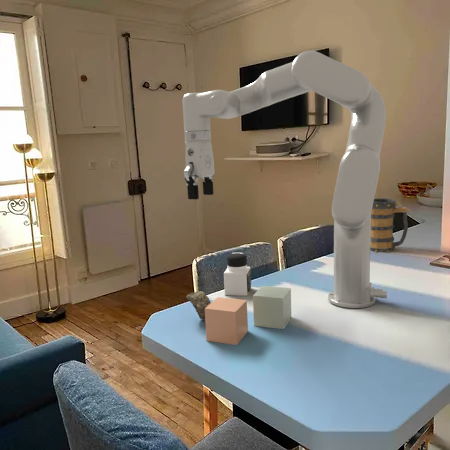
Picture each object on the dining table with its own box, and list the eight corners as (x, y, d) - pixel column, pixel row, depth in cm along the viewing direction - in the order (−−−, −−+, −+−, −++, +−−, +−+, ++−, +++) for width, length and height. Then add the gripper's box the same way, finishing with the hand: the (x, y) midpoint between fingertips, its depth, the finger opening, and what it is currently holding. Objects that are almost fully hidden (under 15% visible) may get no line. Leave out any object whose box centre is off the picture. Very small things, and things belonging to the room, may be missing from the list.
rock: (183, 291, 112) (198, 281, 113) (188, 301, 119) (202, 291, 120) (198, 313, 109) (213, 303, 110) (202, 322, 116) (216, 312, 117)
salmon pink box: (248, 331, 108) (246, 300, 106) (236, 345, 101) (235, 311, 99) (219, 327, 111) (217, 297, 109) (206, 340, 104) (204, 308, 102)
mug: (369, 245, 184) (369, 197, 180) (413, 249, 174) (414, 199, 171) (358, 252, 174) (359, 202, 170) (404, 257, 164) (406, 203, 160)
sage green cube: (291, 317, 115) (290, 288, 113) (283, 329, 108) (282, 298, 106) (263, 314, 118) (262, 285, 116) (254, 325, 111) (252, 295, 109)
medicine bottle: (248, 296, 132) (246, 257, 129) (224, 295, 133) (222, 257, 131) (251, 288, 139) (250, 251, 136) (229, 287, 140) (227, 251, 138)
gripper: (195, 137, 118) (199, 201, 121) (222, 136, 134) (224, 193, 137) (171, 138, 121) (175, 201, 124) (199, 137, 137) (202, 193, 140)
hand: (201, 196), depth 131 cm, fingers open, 9 cm apart
